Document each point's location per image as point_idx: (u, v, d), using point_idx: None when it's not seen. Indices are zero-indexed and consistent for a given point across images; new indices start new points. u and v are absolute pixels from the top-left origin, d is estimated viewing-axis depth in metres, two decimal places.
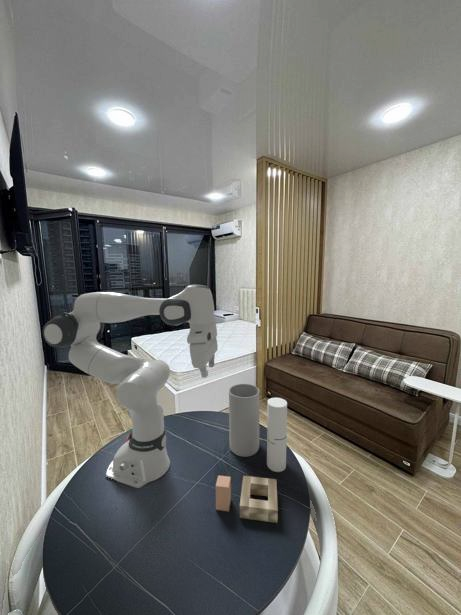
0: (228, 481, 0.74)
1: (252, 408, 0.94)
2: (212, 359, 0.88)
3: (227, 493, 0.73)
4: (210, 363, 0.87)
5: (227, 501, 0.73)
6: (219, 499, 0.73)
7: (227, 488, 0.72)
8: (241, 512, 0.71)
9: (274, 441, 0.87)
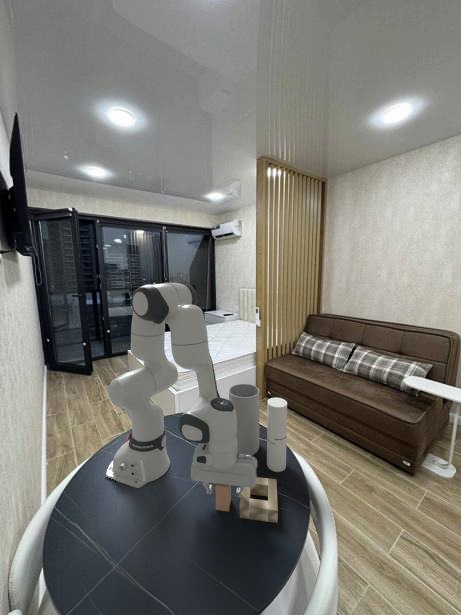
0: None
1: (252, 408, 0.94)
2: (239, 489, 0.73)
3: (227, 493, 0.73)
4: None
5: (227, 501, 0.73)
6: (219, 499, 0.73)
7: (227, 488, 0.72)
8: (241, 512, 0.71)
9: (274, 441, 0.87)
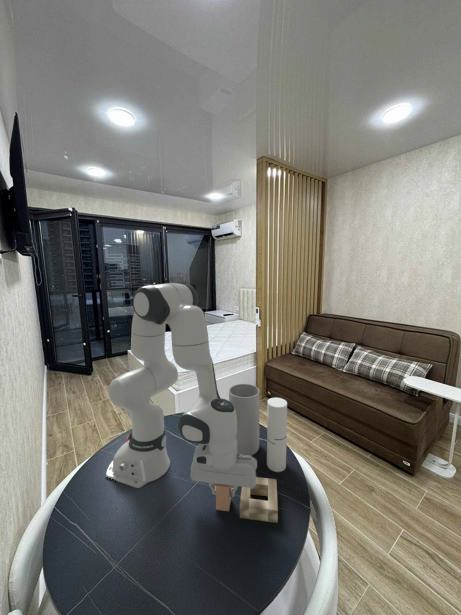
0: None
1: (252, 408, 0.94)
2: (233, 489, 0.74)
3: (227, 493, 0.73)
4: None
5: (227, 501, 0.73)
6: (220, 499, 0.73)
7: (227, 488, 0.72)
8: (241, 512, 0.71)
9: (274, 441, 0.87)
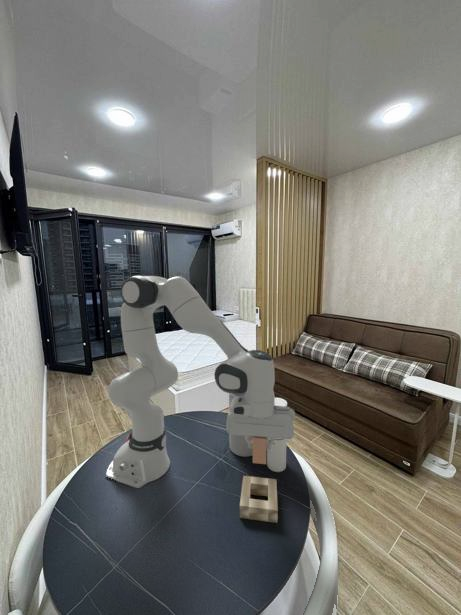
0: None
1: None
2: (270, 441, 0.72)
3: (264, 445, 0.71)
4: (266, 443, 0.73)
5: (264, 453, 0.71)
6: (256, 452, 0.72)
7: (265, 440, 0.71)
8: (241, 512, 0.71)
9: (274, 441, 0.87)
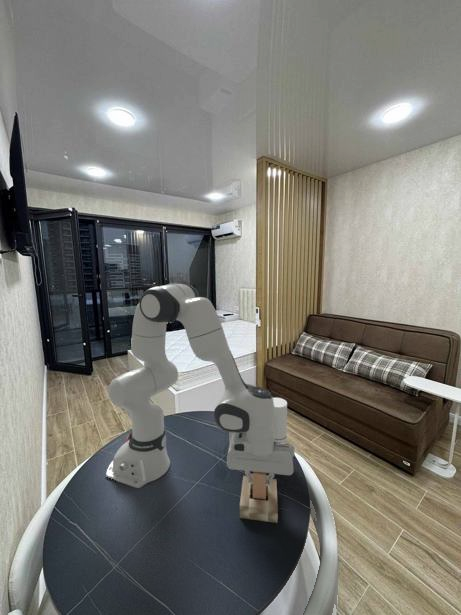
0: None
1: None
2: (269, 477, 0.74)
3: (264, 481, 0.72)
4: (266, 478, 0.74)
5: (264, 489, 0.73)
6: (256, 487, 0.73)
7: (264, 476, 0.72)
8: (241, 512, 0.71)
9: (274, 441, 0.87)
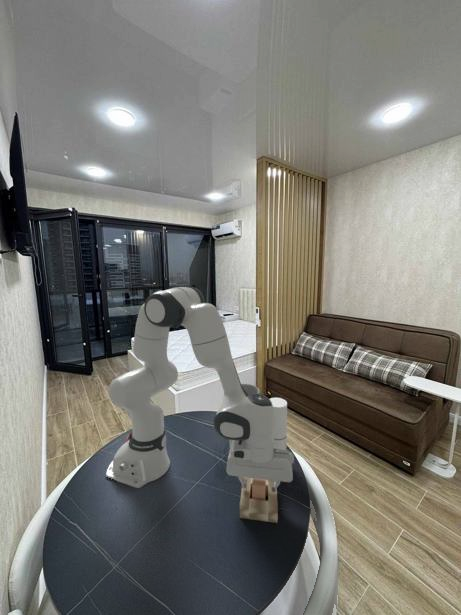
0: (264, 480, 0.75)
1: None
2: (275, 484, 0.74)
3: (264, 492, 0.73)
4: None
5: None
6: (256, 498, 0.73)
7: (264, 487, 0.73)
8: (241, 512, 0.71)
9: (274, 441, 0.87)
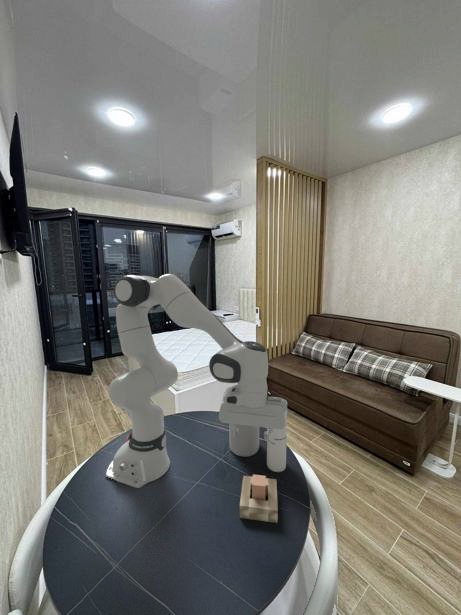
0: (264, 480, 0.75)
1: None
2: (268, 432, 0.74)
3: (264, 492, 0.73)
4: (264, 433, 0.74)
5: None
6: (256, 498, 0.73)
7: (264, 487, 0.73)
8: (241, 512, 0.71)
9: (274, 441, 0.87)
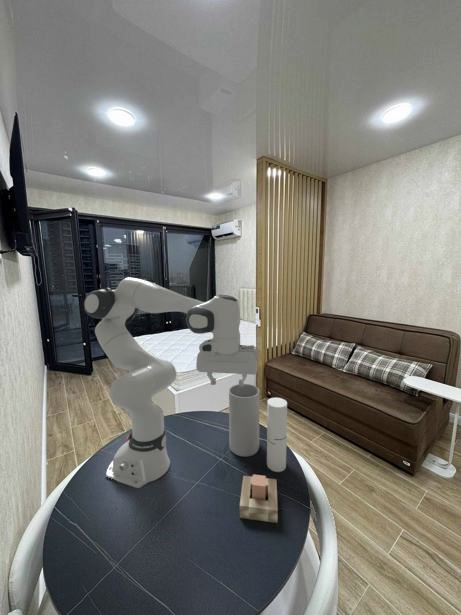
0: (264, 480, 0.75)
1: (252, 408, 0.94)
2: (242, 379, 0.79)
3: (264, 492, 0.73)
4: (239, 381, 0.80)
5: None
6: (256, 498, 0.73)
7: (264, 487, 0.73)
8: (241, 512, 0.71)
9: (274, 441, 0.87)
